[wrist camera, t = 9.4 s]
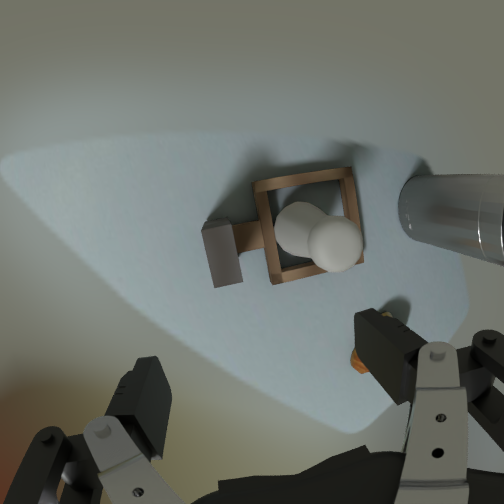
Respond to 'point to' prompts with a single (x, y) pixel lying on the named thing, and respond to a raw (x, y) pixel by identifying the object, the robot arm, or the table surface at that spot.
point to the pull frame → (269, 231)
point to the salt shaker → (319, 236)
